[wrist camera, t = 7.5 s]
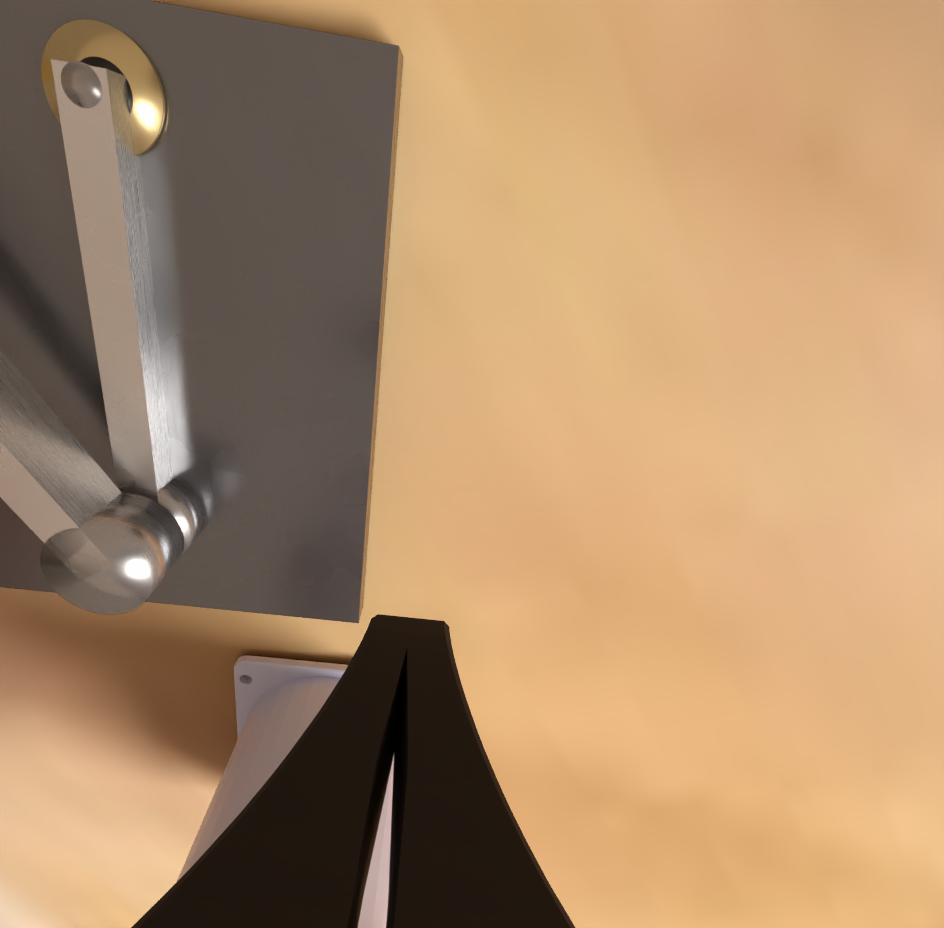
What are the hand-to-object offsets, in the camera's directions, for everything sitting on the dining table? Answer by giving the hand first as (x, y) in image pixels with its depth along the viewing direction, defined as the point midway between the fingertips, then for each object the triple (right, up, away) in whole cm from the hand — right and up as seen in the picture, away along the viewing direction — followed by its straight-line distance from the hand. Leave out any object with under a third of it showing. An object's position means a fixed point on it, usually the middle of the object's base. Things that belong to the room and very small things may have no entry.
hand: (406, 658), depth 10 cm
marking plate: (-11, +7, +7) cm, 15 cm away
